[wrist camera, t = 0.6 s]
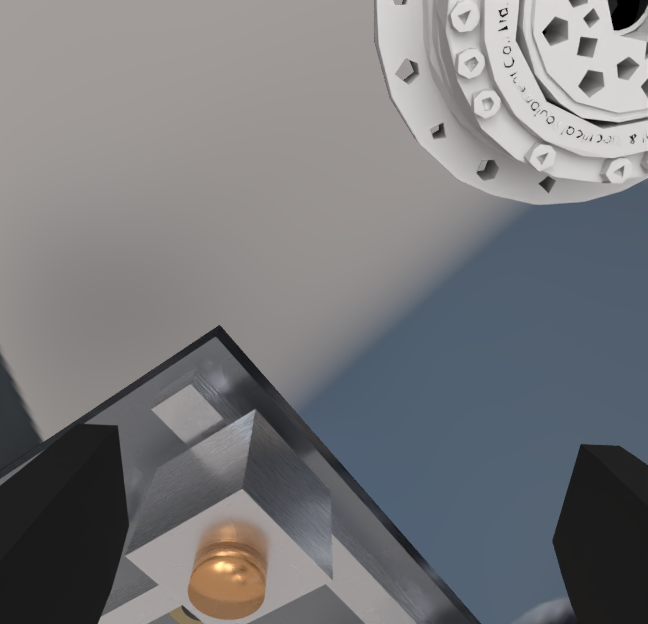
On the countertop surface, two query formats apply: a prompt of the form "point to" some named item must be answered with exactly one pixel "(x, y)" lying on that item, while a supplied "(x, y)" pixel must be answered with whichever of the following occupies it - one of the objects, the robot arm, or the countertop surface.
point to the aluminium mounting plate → (346, 494)
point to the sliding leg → (228, 531)
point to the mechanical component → (522, 92)
